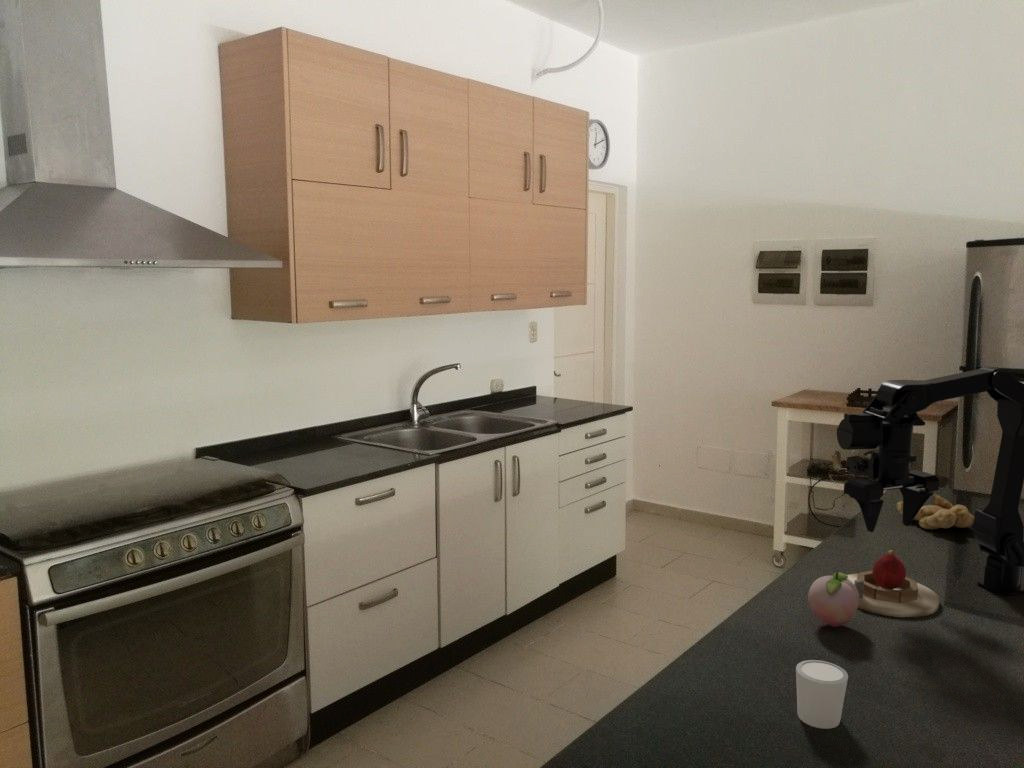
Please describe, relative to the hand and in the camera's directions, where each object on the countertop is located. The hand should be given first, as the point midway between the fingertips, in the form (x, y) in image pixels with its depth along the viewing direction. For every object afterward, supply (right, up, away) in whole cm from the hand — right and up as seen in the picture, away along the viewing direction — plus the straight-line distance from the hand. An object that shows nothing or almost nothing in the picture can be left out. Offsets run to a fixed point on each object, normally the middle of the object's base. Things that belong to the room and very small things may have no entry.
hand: (888, 528), depth 158 cm
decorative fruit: (-16, -15, -13) cm, 25 cm away
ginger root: (+32, -7, +42) cm, 53 cm away
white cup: (-29, -20, -42) cm, 54 cm away
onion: (0, -12, 0) cm, 12 cm away
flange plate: (-1, -13, 0) cm, 13 cm away
